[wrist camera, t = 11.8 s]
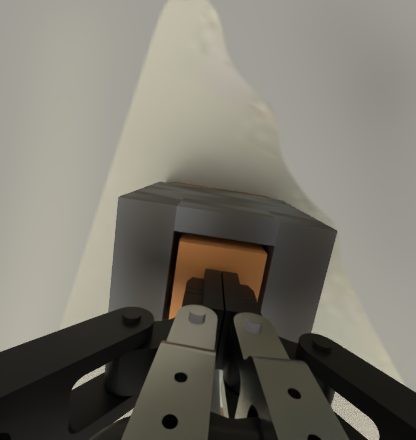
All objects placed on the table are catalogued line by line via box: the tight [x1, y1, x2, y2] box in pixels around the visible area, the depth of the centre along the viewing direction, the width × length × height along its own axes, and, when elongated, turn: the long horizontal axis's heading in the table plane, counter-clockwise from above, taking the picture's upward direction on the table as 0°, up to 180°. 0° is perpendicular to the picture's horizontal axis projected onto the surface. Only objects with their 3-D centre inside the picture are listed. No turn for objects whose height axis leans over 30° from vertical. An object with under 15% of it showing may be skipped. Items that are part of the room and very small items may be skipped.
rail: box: [108, 182, 337, 416], centre depth 21 cm, size 11×28×12 cm, turn 171°
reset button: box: [169, 232, 267, 319], centre depth 14 cm, size 4×4×3 cm
